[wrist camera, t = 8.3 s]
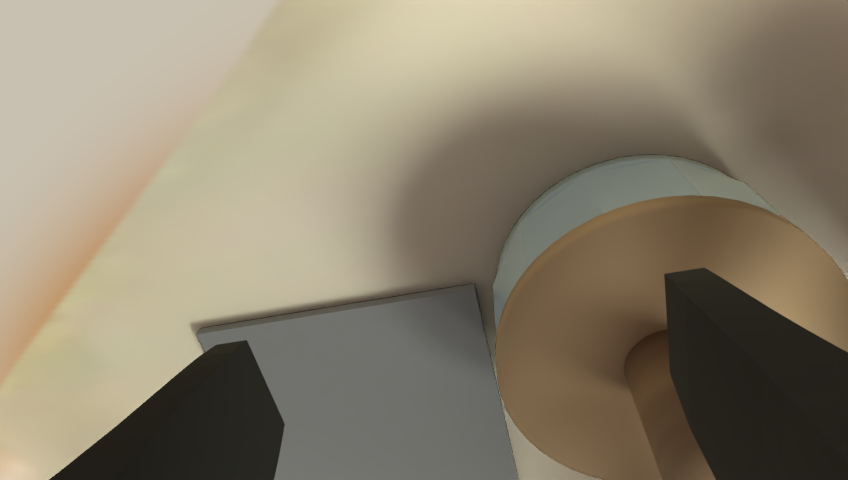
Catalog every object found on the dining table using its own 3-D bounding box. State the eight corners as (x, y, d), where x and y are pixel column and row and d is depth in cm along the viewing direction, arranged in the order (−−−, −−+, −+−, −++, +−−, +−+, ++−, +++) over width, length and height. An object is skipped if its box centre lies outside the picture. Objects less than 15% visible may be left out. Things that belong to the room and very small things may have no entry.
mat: (474, 283, 22) (474, 289, 21) (520, 489, 27) (521, 496, 26) (200, 328, 23) (196, 334, 23) (290, 513, 28) (288, 520, 28)
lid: (870, 171, 15) (1029, 267, 11) (817, 454, 19) (916, 601, 15) (476, 220, 16) (479, 322, 12) (512, 474, 21) (524, 614, 17)
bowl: (778, 127, 18) (849, 171, 15) (769, 367, 23) (822, 443, 19) (473, 185, 20) (474, 237, 17) (517, 400, 24) (526, 476, 21)
